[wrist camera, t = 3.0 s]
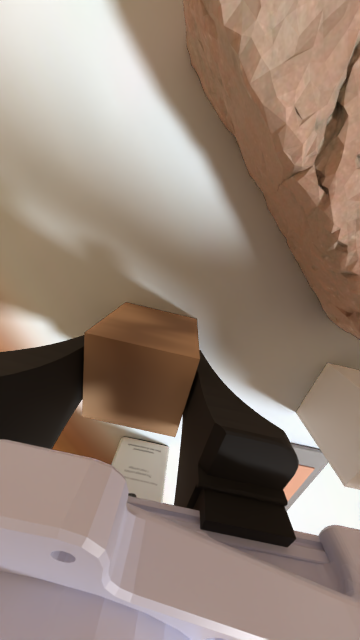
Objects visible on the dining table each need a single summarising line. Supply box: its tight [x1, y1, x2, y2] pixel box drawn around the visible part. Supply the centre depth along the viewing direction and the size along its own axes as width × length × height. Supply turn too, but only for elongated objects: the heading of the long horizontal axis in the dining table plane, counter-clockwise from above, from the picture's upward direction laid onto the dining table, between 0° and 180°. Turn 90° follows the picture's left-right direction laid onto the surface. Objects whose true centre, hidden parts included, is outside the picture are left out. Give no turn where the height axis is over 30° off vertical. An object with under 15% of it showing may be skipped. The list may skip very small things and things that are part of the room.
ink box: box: [111, 437, 169, 503], centre depth 13 cm, size 9×5×12 cm, turn 168°
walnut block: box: [82, 302, 200, 437], centre depth 11 cm, size 5×5×5 cm
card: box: [283, 444, 328, 511], centre depth 17 cm, size 7×10×1 cm
